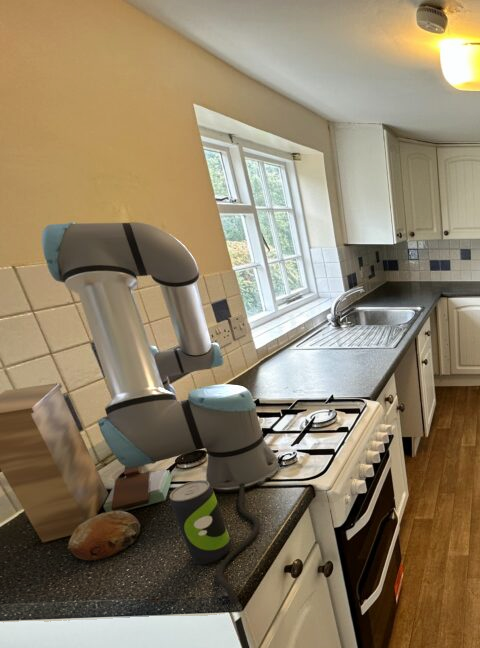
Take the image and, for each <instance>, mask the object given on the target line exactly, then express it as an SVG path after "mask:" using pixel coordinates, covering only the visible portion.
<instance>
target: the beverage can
mask: <svg viewBox="0 0 480 648" xmlns="http://www.w3.org/2000/svg"><path fill="white" fill-rule="evenodd" d="M169 504H170V507H171V510H172V512H173V514H174V516H175V519H176V522H177V524H178V527H179V529H180V532H181V535H182V537H183V539H184V542H185V544H186V547H187V549H188V552H189V555H190V557H191V560H192V561H193V563H195V564H199V565H209V564H210V565H211V564H213V563H216V562H218V561H220V560H222V559H223V558H224V557H226V555H228V554H229V552H230V550H231V548H232V541H231V538H230V534H229V532H228V529H227V526H226V523H225V520H224V518H223V514H222V512H221V508H220V505H219V503H218V500H217V497H216V494H215V491H213V488H212V487H211V486H210V485H209V483H208V482H207V480H202V479H201V480H193V481H189V482H186V483H184V484H181V485H179V486H177V487H176V488H174V489H173V490H172V491H171V492H170V494H169Z"/></svg>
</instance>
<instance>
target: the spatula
mask: <svg viewBox="0 0 480 648" xmlns="http://www.w3.org/2000/svg"><path fill="white" fill-rule="evenodd" d="M151 473H152V472H151V471H149V470H148V471H145V472H143V466H139V467H134V468H129V467H126V466H124V471H123V475H124V477H119V478H115V480H114V484H115V487H114V493H113V500H112V507H111V509H112V510H113V511H115V510H119V509H123V508H127V507H130V506H134V505H138V504H142V503H146V502H149V495H150V482H151Z"/></svg>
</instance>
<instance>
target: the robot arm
mask: <svg viewBox="0 0 480 648" xmlns="http://www.w3.org/2000/svg"><path fill="white" fill-rule="evenodd" d="M41 245H42V251H43V256H44V259H45V260H46V266H47V269H48V272H49V273H50V275H51V277H52V278H53V280H55V281H56V282H59V283H64V287H65V288H66V289H67V290H68V291H71V292H73V293H75V294H77V295H78V297H79V301H80V303H81V307H82V310H83V313H84V316H85V319H86V322H87V325H88V328H89V331H90V335H91V337H92V340H93V341H92V342H93V343H94V347H95V350H96V353H97V356H98V359H99V363H100V366H101V368H102V372H103V375H104V378H105V381H106V384H107V387H108V390H109V394H110V396H111V400H110V401H109V402H108V403H107V405H106V406H105V407H104V410H105V414H106V416H102V417H101V418H100V419H98V421H97V425H98V427H99V431H100V433H101V435H102V437H103V440H104V441H105V443H106V445H107V447H108V448H109V449H110V452H111V453H112V454H113V456H114V457H115V459H116V460H117V461H118V462H119V463H120V465H122V466H124V467H125V466H126V467H129V468H134V467H139V466H142V467H143V466H147V465H151V464H152V465H154V464H156V463H159V462H161V461H165V460H168V459H173V458H176V457H179V456H182V455H186V454H188V453H192V452H197V451H200V450H203V449H205V450H206V453H207V465H206V475H205V476H206V477H205V478H206V481H207V482H208V483H209V485H210V486H211V487H212V488H213V491H214V492H216V493H223V494H224V493H227V494H228V493H237V492H238V502H237V507H238V511H239V513H240V514H241V515H242V516H243V517H245V518H246V519H247V520H249V521H251V522H252V524H253V530H252V532H251V534H250V535H249V536H248V537H247V538H246V539H245V540H244V541H243V542H242V543H241V544H239V545H238V546H237V547H236V548H235V549H233V550H232V551H231V552H230V553H228V554H227V556H225V558H224V559H223V560H222V561H221V563H220V564H219V566H218V568H217V570H216V574H215V578H216V579H215V580H216V582H217V583H218V584H219V585H220V586H221V587H222V588H223V589H224V590H225V592H226V594H227V595H228V598H229V601H230V604H231V605H232V606H234V605H236V604H237V603H238V602H239V601H238V596H237V593H236V591H235V589H234V587H233V586H232V584H231V583H230V582H229V581H227V580H226V578H225V577H224V572H225V568H226V566H227V565H228V564H229V562H230V561H231V560H233V559H234V557H235V556H236V555H238V554H239V553H240V552H241V551H242V550H243V549H245V548H246V547H247V546H248V545H250V543H251V542H252V541H253V540H254V539H255V538H256V537H257V535H258V533H259V530H260V527H261V526H260V522H259V520H258V518H257V517H256V516H254V515H252V514H251V513H250V512H248V511H247V510H246V509H245V506H244V499H245V490H248V489H249V490H250V489H252V488H254V487H256V486H259V485H261V484H263V483H265V482H266V481H268V480H270V479H271V478H272V477H273V476H274V475H276V473H277V472H278V471H279V468H280V462H279V460H278V456H277V455H276V454H275V452H274V451H273V450H272V448H271V447H270V446H269V444H268V443H267V442H266V441H265V438H264V435H263V431H262V428H261V423H260V420H259V417H258V413H257V410H256V408H257V405H256V403H255V402H254V398H253V396H252V393H251V391H250V390H249V389H248V388H246V387H244V386H241V385H237V384H213V385H211V384H210V385H205V386H200V387H199V388H195V389H193V390H191V391H190V392H189V393H188V396H187V399H184V400H179V401H178V399H177V397H176V390H175V388H174V386H173V385H172V384H170V382H169V379H168V377H172V376H179V375H183V374H187V373H193V372H194V373H195V372H198V371H199V372H200V371H205V370H211V369H214V368H218V367H222V366H223V365H224V363H225V361H224V358H223V353H222V351H221V348H220V345H219V344H218V343H217V342H212V341H211V337H210V336H211V335H210V331H209V329H208V323H207V320H206V316H205V312H204V307H203V303H202V300H201V295H200V291H199V287H198V283H197V282H198V281H199V279H200V277H201V276H200V270H199V267H198V263H197V261H196V259H195V258H194V257H193V255H192V254H191V252H190V250H188V248H187V247H186V246H185V245H184V244H183V243H182V242H181V241H180V240H178V239H177V237H175V236H173V235H172V234H170V233H169V232H167V231H166V230H164V229H162V228H159V227H157V226H155V225H151V224H149V223H144V222H138V221H137V222H136V221H132V222H131V221H130V222H91V223H90V222H86V223H85V222H83V223H81V222H80V223H78V222H77V223H76V222H73V221H72V222H71V221H70V222H67V223H54V224H53V223H52V224H48V225H46V226H45V227H44V228H43V230H42V233H41ZM148 276H151V279H152V280H153V281H154V282H155V283H156V284H158V285H159V288H160V291H161V294H162V297H163V300H164V303H165V306H166V310H167V312H168V315H169V318H170V321H171V324H172V327H173V330H174V333H175V336H176V340H177V343H178V346H179V347H178V348H173V349H166V350H159V349H158V347H156V346H155V345H151V344H150V340H149V338H148V335H147V332H146V328H145V325H144V323H143V319H142V317H141V314H140V310H139V307H138V304H137V302H136V298H135V296H134V292H133V291H135V289H136V288H137V287H138V285H139V280H138V277H148ZM278 462H279V463H278ZM234 624H235V629H236V631H237V635H238V638H239V642H240V645H241V648H251V647H250V643H249V640H248V637H247V634H246V630H245V627H244V623H243V619H242V616H240V617H238V618H237V619H236V620H235V621H234Z"/></svg>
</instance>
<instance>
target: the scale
mask: <svg viewBox="0 0 480 648" xmlns="http://www.w3.org/2000/svg"><path fill="white" fill-rule="evenodd" d="M150 473H151V482H150V495H149V502H146V503H142V504H138V505H134V506H130V507H127V508H123V509H119V510H115V511H124V512H127V511H130V510H135V509H138V508H141V507H145V506H149V505H153V504H157V503H161V502H165V501H166V499H167V496H168V492H169V489H170V486H171V482H172V480H173V477H172V475H171V472H170V470H169V469H168V470H167V469H161V470H155V471H152V472H150ZM114 487H115V483H114V485H113V486H112V488H111V490H110V492H109V493H108V495H107V497H106V499H105V501H104V503H103V505H102V506H103V509H104V511H105V513H106V512H111V511H113V510H112V509H111V507H112V500H113V493H114Z"/></svg>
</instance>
